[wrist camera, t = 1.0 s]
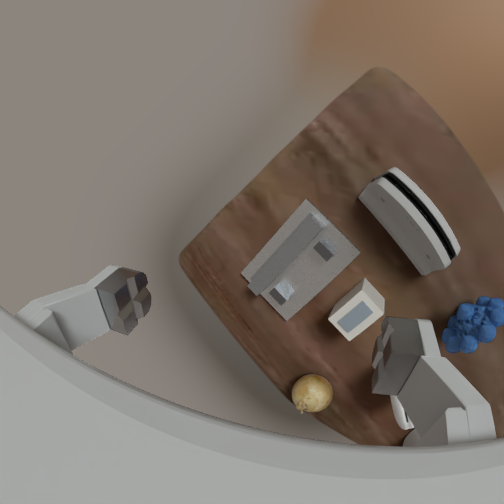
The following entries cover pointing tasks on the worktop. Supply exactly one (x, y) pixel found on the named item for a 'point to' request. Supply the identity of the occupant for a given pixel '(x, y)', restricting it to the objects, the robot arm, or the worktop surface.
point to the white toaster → (411, 220)
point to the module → (357, 310)
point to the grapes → (473, 325)
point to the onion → (312, 393)
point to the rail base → (299, 260)
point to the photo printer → (400, 414)
